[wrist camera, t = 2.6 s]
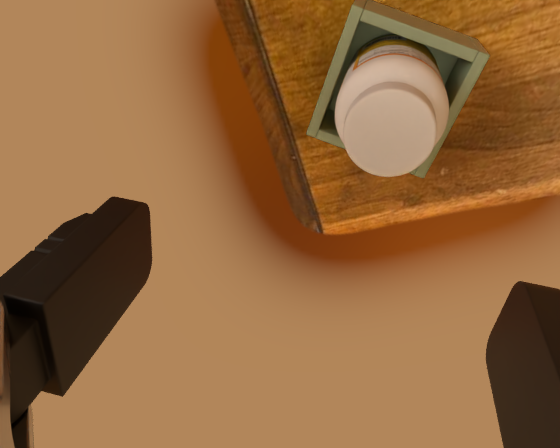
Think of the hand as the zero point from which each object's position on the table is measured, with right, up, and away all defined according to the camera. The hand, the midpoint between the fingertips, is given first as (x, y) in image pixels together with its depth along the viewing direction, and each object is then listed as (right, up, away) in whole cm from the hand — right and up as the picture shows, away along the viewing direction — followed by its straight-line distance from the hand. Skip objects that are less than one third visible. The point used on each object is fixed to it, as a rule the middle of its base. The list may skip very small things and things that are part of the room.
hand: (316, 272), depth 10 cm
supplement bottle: (+6, +10, +18) cm, 21 cm away
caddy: (+6, +10, +18) cm, 22 cm away
